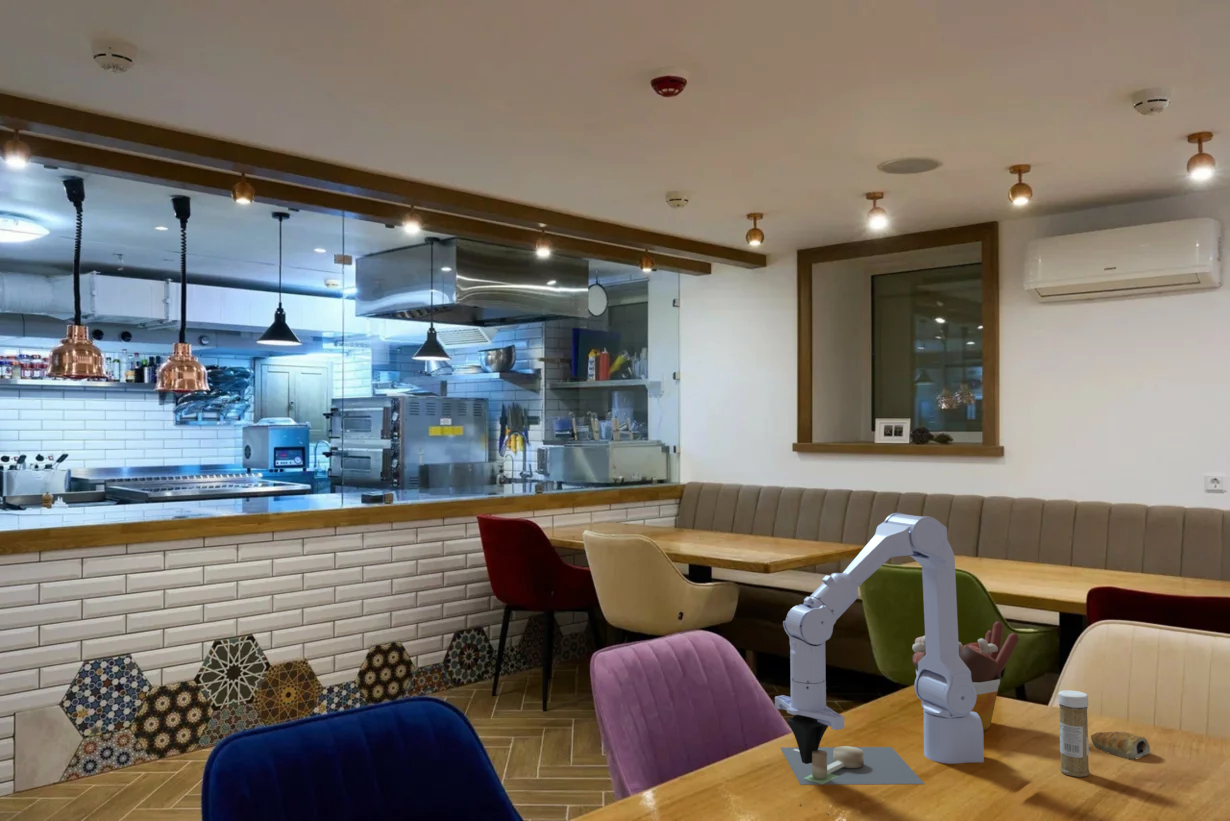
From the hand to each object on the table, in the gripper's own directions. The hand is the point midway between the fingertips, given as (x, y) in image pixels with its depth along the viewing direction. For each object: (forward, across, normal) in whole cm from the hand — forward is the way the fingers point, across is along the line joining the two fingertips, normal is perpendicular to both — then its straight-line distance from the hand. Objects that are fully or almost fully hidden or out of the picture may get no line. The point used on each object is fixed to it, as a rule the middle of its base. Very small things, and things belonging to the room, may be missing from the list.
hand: (808, 762), depth 156 cm
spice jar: (+3, +20, +41) cm, 46 cm away
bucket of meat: (+3, -7, +47) cm, 48 cm away
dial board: (+3, 0, +9) cm, 9 cm away
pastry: (+4, +18, +58) cm, 61 cm away
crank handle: (+2, +1, +5) cm, 6 cm away
